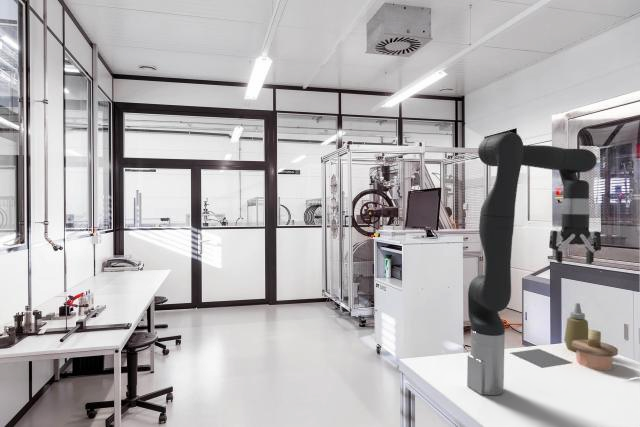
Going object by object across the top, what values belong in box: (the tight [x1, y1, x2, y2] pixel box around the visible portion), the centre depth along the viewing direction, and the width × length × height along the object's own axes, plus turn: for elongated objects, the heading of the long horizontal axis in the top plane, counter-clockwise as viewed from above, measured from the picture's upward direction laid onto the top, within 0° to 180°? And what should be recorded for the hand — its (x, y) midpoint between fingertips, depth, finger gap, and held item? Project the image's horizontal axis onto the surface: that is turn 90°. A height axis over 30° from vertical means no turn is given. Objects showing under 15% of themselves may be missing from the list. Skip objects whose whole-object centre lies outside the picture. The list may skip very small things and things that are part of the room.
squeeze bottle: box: [563, 302, 589, 353], centre depth 151 cm, size 8×8×18 cm
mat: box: [509, 348, 573, 369], centre depth 143 cm, size 14×14×1 cm
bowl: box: [575, 350, 614, 371], centre depth 138 cm, size 10×10×6 cm
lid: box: [572, 329, 619, 357], centre depth 137 cm, size 13×13×6 cm
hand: (574, 263), depth 129 cm, fingers open, 8 cm apart
